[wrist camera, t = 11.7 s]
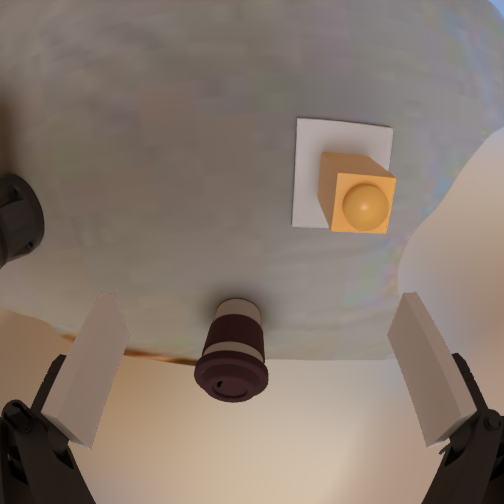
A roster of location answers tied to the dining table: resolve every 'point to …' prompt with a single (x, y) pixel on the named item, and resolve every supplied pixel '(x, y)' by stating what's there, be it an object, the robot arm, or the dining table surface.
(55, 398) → the robot arm
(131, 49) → the dining table surface
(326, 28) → the dining table surface
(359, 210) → the orange toy brick
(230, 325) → the coffee cup
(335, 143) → the white pegged board
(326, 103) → the dining table surface
